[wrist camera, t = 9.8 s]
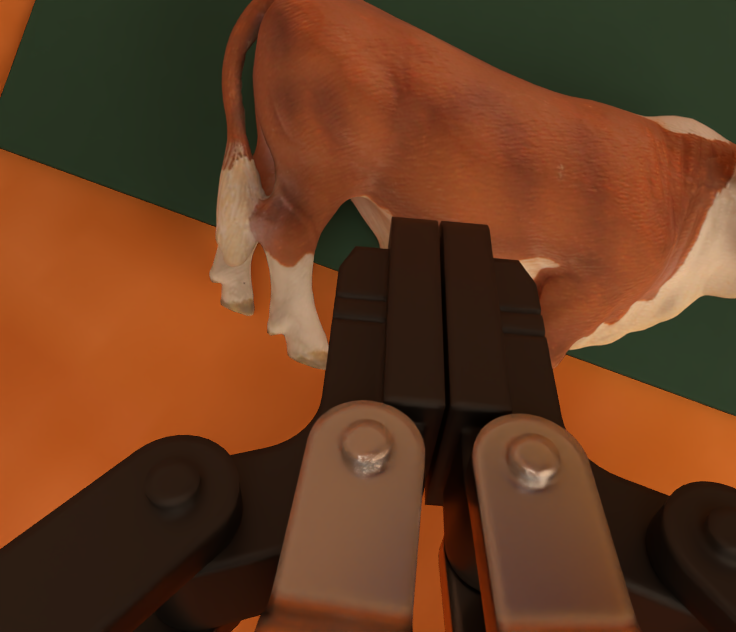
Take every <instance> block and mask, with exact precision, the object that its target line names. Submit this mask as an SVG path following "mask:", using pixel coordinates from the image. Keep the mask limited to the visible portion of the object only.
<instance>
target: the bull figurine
mask: <svg viewBox="0 0 736 632" xmlns="http://www.w3.org/2000/svg"><path fill="white" fill-rule="evenodd" d="M256 39H257V44H256V51H255V59H254V66H253V91H254V101H255V114H256V124H257V134H258V139H257V147H256V150H255V153H254V155H253V156H252V153H251V149H250V146H249V142H248V139H247V136H246V128H245V109H244V107H243V104H242V93H241V90H242V79H241V78H242V71H243V66H244V62H245V54H246V52H247V51H248V49H249V48H250V47H251V45H252V44H253V43H254V42H255V41H256ZM222 93H223V103H224V109H225V114H226V121H227V144H226V150H225V155H224V160H223V165H222V170H221V174H220V180H219V189H218V198H217V210H216V242H217V243H218V248H217V252H216V256H215V259H214V262H213V266H212V268H211V270H210V273H209V275H210V280H211V281H212V282H214V283H221V284H222V295H221V305H222V306H224V307H226V308H228V309H230V310H232V311H234V312H238V313H241V314H244V315H247V316H251V315H253V313H254V301H253V290H252V282H251V261H252V256H253V252H254V250H255V248H256V246H257V244H258V242H259V243H260V244H261V245H262V247H263V249H264V251H265V253H266V257H267V262H268V265H269V270H270V279H271V301H270V310H269V320H268V324H267V333H268V334H269V335H276V334H283V335H284V336H285V339H286V343H287V353H288V356H289V357H290V358H292V359H293V360H295V361H297V362H300V363H302V364H305V365H308V366H311V367H313V368H318V369H323V370H326V363H327V356H328V348H329V345H328V342H327V338H326V334H325V332H324V331H323V328H322V326H321V323H320V320H319V318H318V315H317V312H316V308H315V304H314V296H313V292H312V270H313V261H314V254H315V249H316V246H317V243H318V240H319V237H320V235H321V233H322V231H323V229H324V228H325V226H326V225H327V223H328V222H329V220H330V219H331V218H332V217H333V215H334V214H335V213H336V211H337V210H338V208H339V207H340V206H341V205H342V204H343V203H344V202H345V201H347V200H348V199H351V201H352V202H353V203H354V205H355V206H356V208H357V209H358V211H359V213H360V214H361V216H362V217H363V219H364V220H365V222H366V223H367V224H368V226H369V227H370V229H371V230H372V231H373V233H374V234H375V236H376V237H377V239H378V242H379V245H380V248H384V249H388V242H389V234H390V225H391V218H392V216H393V217H404V218H416V219H427V220H438V223H439V225H440V222H441V221H452V222H463V223H474V224H486V225H488V226H489V229H490V236H491V244H492V252H493V258H500V259H511V260H519V261H520V263H521V264H522V265H523V267H524V268H525V270H526V271H527V272H528V274H529V275H530V276H531V278H532V279H533V280H534V282H535V283H536V285H537V290H538V296H539V301H540V306H541V315H542V316H543V322H544V327H545V337H547V343H548V348H549V353H550V358H551V364H552V369H554V368H555V367H556V366H557V365H558V364H559V363H560V362H561V361H562V359H563V358H564V356H565V355H566V353H567V351H568V350H574V349H580V348H583V347H587V346H594V345H605V344H610V343H612V342H614V341H616V340H618V339H620V338H621V337H623V336H624V335H626V334H627V333H630V332H635V331H641V330H645V329H647V328H649V327H652V326H654V325H656V324H658V323H660V322H664V321H667V320H669V319H672V318H674V317H675V316H677V315H679V314H680V313H681V312H682V311H683V310H684V309H686V308H687V307H688V306H689V305H690V304H692V303H693V302H694V301H695V300H696V299H698V298H699V297H701V296H704V295H710V296H717V297H722V298H736V144H734V143H732V142H730V141H729V140H727V139H725V138H724V137H722V136H721V135H720V134H718V133H717V132H715V131H714V130H712V129H711V128H709V127H707V126H705V125H704V124H702V123H700V122H698V121H696V120H694V119H691V118H686V117H680V116H655V117H646V116H641V115H638V114H634V113H631V112H628V111H625V110H622V109H619V108H616V107H613V106H610V105H607V104H604V103H600V102H596V101H593V100H588V99H582V98H577V97H571V96H567V95H564V94H561V93H557V92H554V91H551V90H548V89H546V88H543V87H540V86H537V85H535V84H532V83H530V82H528V81H525V80H523V79H521V78H518V77H516V76H514V75H511V74H509V73H507V72H504V71H502V70H500V69H498V68H496V67H494V66H492V65H490V64H488V63H486V62H484V61H482V60H480V59H478V58H476V57H474V56H472V55H470V54H468V53H466V52H464V51H462V50H460V49H458V48H456V47H454V46H452V45H450V44H449V43H447V42H445V41H443V40H441V39H439V38H437V37H435V36H433V35H431V34H429V33H427V32H425V31H423V30H421V29H419V28H417V27H415V26H413V25H411V24H409V23H407V22H405V21H402V20H400V19H398V18H396V17H394V16H392V15H390V14H389V13H387V12H385V11H383V10H381V9H379V8H377V7H375V6H373V5H371V4H369V3H367V2H365V1H363V0H252V1H251V2H250V4H249V5H248V6H247V7H246V8H245V10H244V11H243V13H242V14H241V15H240V17H239V19H238V20H237V22H236V24H235V25H234V27H233V30H232V32H231V34H230V36H229V40H228V43H227V46H226V50H225V55H224V60H223V67H222Z"/></svg>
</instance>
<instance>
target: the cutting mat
mask: <svg viewBox="0 0 736 632" xmlns="http://www.w3.org/2000/svg"><path fill="white" fill-rule="evenodd" d="M251 1H252V0H36V1H35V3H34V6H33V9H32V12H31V14H30V17H29V20H28V23H27V25H26V28H25V31H24V34H23V37H22V39H21V42H20V45H19V48H18V50H17V53H16V56H15V59H14V61H13V64H12V67H11V70H10V72H9V75H8V78H7V81H6V83H5V86H4V89H3V92H2V94H1V97H0V148H1V149H3V150H6V151H9V152H12V153H14V154H17V155H20V156H23V157H25V158H28V159H31V160H34V161H36V162H39V163H42V164H45V165H47V166H50V167H53V168H56V169H58V170H61V171H64V172H67V173H69V174H72V175H75V176H78V177H80V178H83V179H86V180H89V181H91V182H94V183H97V184H100V185H102V186H105V187H108V188H111V189H113V190H116V191H119V192H122V193H124V194H127V195H130V196H133V197H135V198H138V199H141V200H144V201H146V202H149V203H152V204H155V205H157V206H160V207H163V208H166V209H168V210H171V211H174V212H177V213H179V214H182V215H185V216H187V217H190V218H193V219H196V220H198V221H201V222H204V223H207V224H209V225H212V226H215V227H216V210H217V198H218V189H219V180H220V174H221V170H222V165H223V160H224V155H225V150H226V144H227V121H226V114H225V109H224V103H223V93H222V67H223V60H224V55H225V50H226V46H227V43H228V40H229V36H230V34H231V32H232V30H233V27H234V25H235V24H236V22H237V20H238V19H239V17H240V15H241V14H242V13H243V11H244V10H245V8H246V7H247V6H248V5H249V4H250V2H251ZM363 1H365V2H367V3H369V4H371V5H373V6H375V7H377V8H379V9H381V10H383V11H385V12H387V13H389V14H390V15H392V16H394V17H396V18H398V19H400V20H402V21H405V22H407V23H409V24H411V25H413V26H415V27H417V28H419V29H421V30H423V31H425V32H427V33H429V34H431V35H433V36H435V37H437V38H439V39H441V40H443V41H445V42H447V43H449V44H450V45H452V46H454V47H456V48H458V49H460V50H462V51H464V52H466V53H468V54H470V55H472V56H474V57H476V58H478V59H480V60H482V61H484V62H486V63H488V64H490V65H492V66H494V67H496V68H498V69H500V70H502V71H504V72H507V73H509V74H511V75H514V76H516V77H518V78H521V79H523V80H525V81H528V82H530V83H532V84H535V85H537V86H540V87H543V88H546V89H548V90H551V91H554V92H557V93H561V94H564V95H567V96H571V97H577V98H582V99H588V100H593V101H596V102H600V103H604V104H607V105H610V106H613V107H616V108H619V109H622V110H625V111H628V112H631V113H634V114H638V115H641V116H646V117H655V116H680V117H686V118H691V119H694V120H696V121H698V122H700V123H702V124H704V125H705V126H707V127H709V128H711V129H712V130H714V131H715V132H717V133H718V134H720V135H721V136H722V137H724V138H725V139H727V140H729V141H730V142H732V143H734V144H736V0H363ZM256 44H257V39H256V41H255V42H254V43H253V44H252V45H251V47H250V48H249V49H248V51H247V52H246V54H245V62H244V66H243V71H242V78H241V79H242V90H241V93H242V104H243V107H244V109H245V128H246V136H247V139H248V142H249V146H250V149H251V153H252V156H253V155H254V153H255V150H256V147H257V139H258V134H257V124H256V114H255V101H254V91H253V66H254V59H255V51H256ZM355 246H361V247H373V248H380V245H379V242H378V239H377V237H376V236H375V234H374V233H373V231H372V230H371V229H370V227H369V226H368V224H367V223H366V222H365V220H364V219H363V217H362V216H361V214H360V213H359V211H358V209H357V208H356V206H355V205H354V203H353V202H352V201H351V199H348V200H347V201H345V202H344V203H343V204H342V205H341V206H340V207H339V208H338V210H337V211H336V213H335V214H334V215H333V217H332V218H331V219H330V220H329V222H328V223H327V225H326V226H325V228H324V229H323V231H322V233H321V235H320V237H319V240H318V243H317V246H316V249H315V254H314V261H313V262H314V263H317V264H319V265H322V266H325V267H328V268H330V269H333V270H336V271H339V267H340V265H341V264H342V263H343V262H344V260H345V259H346V258H347V256H348V255H349V254H350V253H351V251H352V250H353V249H354V247H355ZM566 355H569V356H572V357H575V358H577V359H580V360H583V361H586V362H588V363H591V364H594V365H597V366H599V367H602V368H605V369H608V370H610V371H613V372H616V373H619V374H621V375H624V376H627V377H630V378H632V379H635V380H638V381H641V382H643V383H646V384H649V385H652V386H654V387H657V388H660V389H663V390H665V391H668V392H671V393H674V394H676V395H679V396H682V397H685V398H687V399H690V400H693V401H696V402H698V403H701V404H704V405H706V406H709V407H712V408H715V409H717V410H720V411H723V412H726V413H728V414H731V415H734V416H736V298H722V297H717V296H710V295H704V296H701V297H699V298H698V299H696V300H695V301H694V302H693V303H692V304H690V305H689V306H688V307H687V308H686V309H684V310H683V311H682V312H681V313H680V314H679V315H677V316H675V317H674V318H672V319H669V320H667V321H664V322H660V323H658V324H656V325H654V326H652V327H649V328H647V329H645V330H641V331H635V332H630V333H627V334H626V335H624V336H623V337H621V338H620V339H618V340H616V341H614V342H612V343H610V344H605V345H594V346H587V347H583V348H580V349H574V350H568V351H567V353H566Z"/></svg>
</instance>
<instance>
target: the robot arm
mask: <svg viewBox="0 0 736 632" xmlns="http://www.w3.org/2000/svg"><path fill="white" fill-rule="evenodd" d="M424 488H425V505H437V506H443V514H444V536H443V540H442V543H441V546H440V549H439V555H438V556H439V573H440V583H441V593H442V603H443V613H444V623H445V632H736V489H735V488H733V487H730V486H727V485H724V484H720V483H715V482H704V481H700V482H692V483H689V484H686V485H683V486H681V487H680V488H678V489H677V490H675V491H674V492H673V493H672V494H671V496H668V495H665V494H663V493H660V492H658V491H655V490H652V489H650V488H647V487H644V486H642V485H639V484H636V483H634V482H631V481H628V480H626V479H623V478H621V477H618V476H616V475H614V474H612V473H609V472H608V471H606V470H604V469H602V468H601V467H599V466H598V465H596V464H595V463H594V462H592V461H591V460H589V459H588V458H587V455H586V453H585V452H584V450H583V448H582V447H581V445H580V444H579V443H578V441H577V440H576V439H575V438H574V437H573V436H572V435H571V434H570V433H569V432H568V431H566V429H565V426H564V423H563V420H562V416H561V411H560V405H559V400H558V395H557V390H556V385H555V379H554V374H553V369H552V364H551V358H550V353H549V348H548V343H547V337H545V327H544V322H543V316H542V315H541V306H540V301H539V296H538V290H537V285H536V283H535V282H534V280H533V279H532V278H531V276H530V275H529V274H528V272H527V271H526V270H525V268H524V267H523V265H522V264H521V263H520V261H519V260H511V259H500V258H493V252H492V244H491V236H490V229H489V226H488V225H486V224H474V223H463V222H452V221H441V222H440V225H439V223H438V220H427V219H416V218H404V217H393V216H392V218H391V225H390V234H389V242H388V249H384V248H373V247H361V246H355V247H354V249H353V250H352V251H351V253H350V254H349V255H348V256H347V258H346V259H345V260H344V262H343V263H342V264H341V265H340V267H339V272H338V280H337V288H336V297H335V303H334V310H333V319H332V325H331V333H330V341H329V348H328V356H327V363H326V371H325V378H324V386H323V394H322V399H321V404H320V407H319V409H318V411H317V413H316V415H315V416H314V418H313V420H312V421H311V422H310V423H309V424H308V425H307V427H306V428H305V429H303V430H302V431H301V432H300V433H298V434H297V435H296V436H294V437H292V438H291V439H289V440H287V441H285V442H282V443H280V444H278V445H274V446H271V447H267V448H263V449H258V450H253V451H248V452H244V453H239V454H234V455H229V454H228V452H227V451H226V450H225V449H224V448H222V447H221V446H220V445H218V444H217V443H215V442H213V441H211V440H209V439H206V438H202V437H199V436H192V435H176V436H169V437H165V438H162V439H158V440H155V441H153V442H151V443H149V444H147V445H145V446H143V447H142V448H140V449H138V450H137V451H135V452H134V453H133V454H131V455H130V456H128V457H127V458H126V459H124V460H123V461H122V462H120V463H119V464H117V465H116V466H115V467H113V468H112V469H110V470H109V471H108V472H106V473H105V474H104V475H102V476H101V477H99V478H98V479H97V480H95V481H94V482H92V483H91V484H90V485H88V486H87V487H86V488H84V489H83V490H81V491H80V492H79V493H77V494H76V495H75V496H73V497H72V498H70V499H69V500H68V501H66V502H65V503H63V504H62V505H61V506H59V507H58V508H57V509H55V510H54V511H52V512H51V513H50V514H48V515H47V516H45V517H44V518H43V519H41V520H40V521H39V522H37V523H36V524H34V525H33V526H32V527H30V528H29V529H28V530H26V531H25V532H23V533H22V534H21V535H19V536H18V537H16V538H15V539H14V540H12V541H11V542H10V543H8V544H7V545H5V546H4V547H3V548H1V549H0V632H231V631H232V630H233V629H234V628H235V627H236V626H237V625H238V624H239V623H240V621H241V620H244V619H247V618H251V617H255V616H258V615H261V616H260V618H259V620H258V623H257V626H256V628H255V632H413V631H412V621H413V604H414V592H415V579H416V566H417V554H418V541H419V528H420V516H421V503H422V496H423V492H424Z"/></svg>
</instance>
